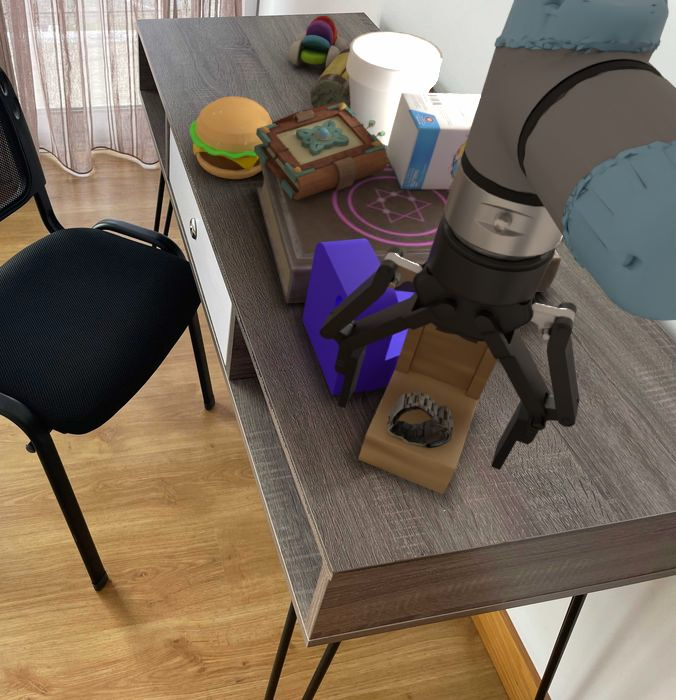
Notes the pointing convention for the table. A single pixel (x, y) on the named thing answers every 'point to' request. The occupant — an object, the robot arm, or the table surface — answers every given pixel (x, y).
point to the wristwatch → (424, 433)
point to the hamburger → (229, 137)
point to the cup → (388, 75)
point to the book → (354, 224)
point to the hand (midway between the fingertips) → (419, 426)
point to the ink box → (430, 138)
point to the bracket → (329, 291)
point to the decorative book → (320, 151)
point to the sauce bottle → (333, 83)
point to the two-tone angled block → (447, 390)
